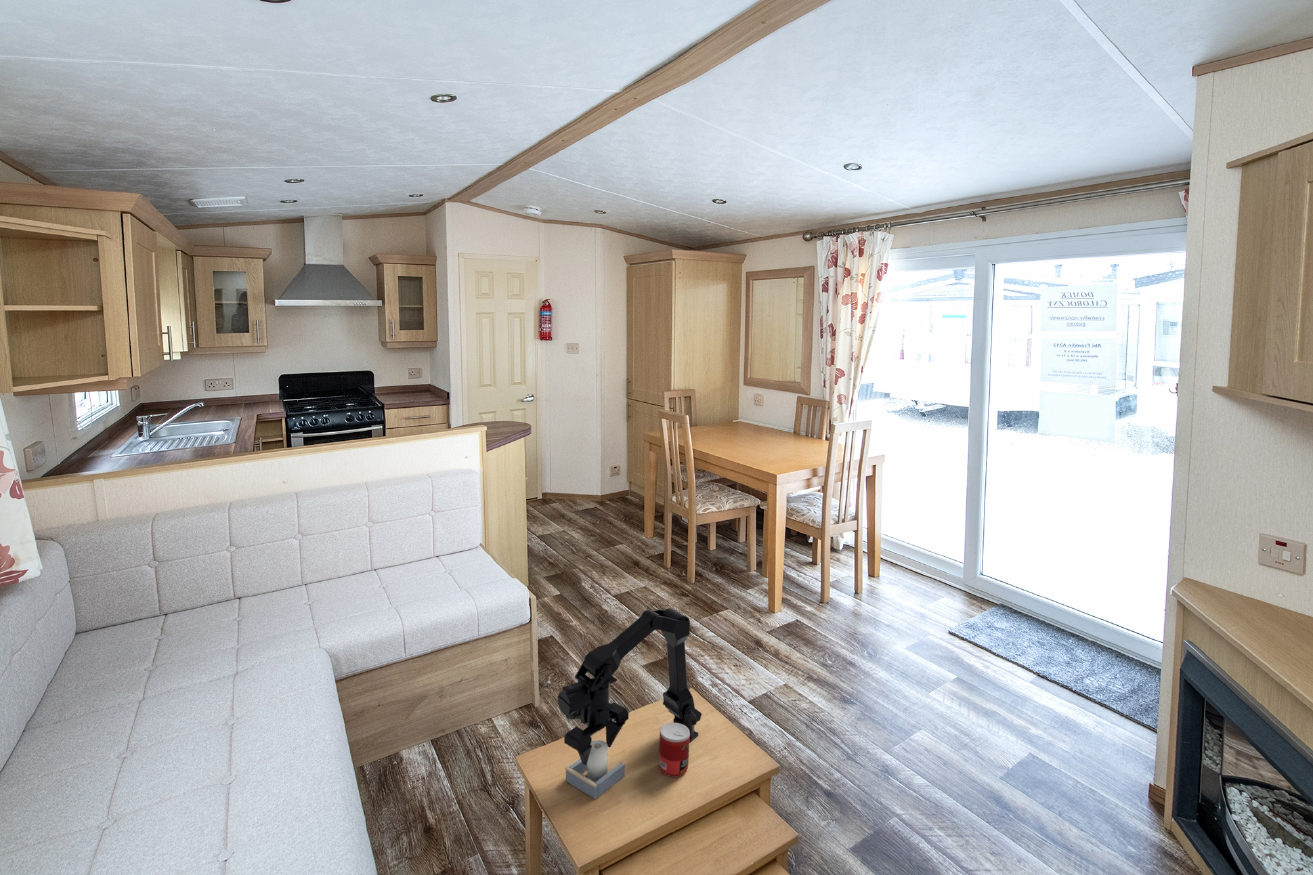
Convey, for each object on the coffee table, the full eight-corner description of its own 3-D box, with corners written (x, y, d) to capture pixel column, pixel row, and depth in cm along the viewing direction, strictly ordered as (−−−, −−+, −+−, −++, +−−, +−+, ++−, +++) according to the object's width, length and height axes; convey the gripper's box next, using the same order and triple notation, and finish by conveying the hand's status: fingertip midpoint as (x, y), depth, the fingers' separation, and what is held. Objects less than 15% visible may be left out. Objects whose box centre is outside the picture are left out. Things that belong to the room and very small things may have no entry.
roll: (596, 767, 181) (597, 736, 179) (611, 776, 177) (611, 745, 176) (582, 777, 177) (583, 746, 175) (597, 786, 173) (598, 754, 172)
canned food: (685, 779, 177) (687, 742, 175) (655, 774, 179) (657, 737, 177) (690, 761, 185) (691, 724, 182) (661, 756, 186) (662, 720, 184)
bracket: (595, 759, 184) (595, 745, 183) (624, 776, 178) (624, 762, 177) (564, 781, 175) (565, 767, 174) (594, 799, 169) (594, 785, 168)
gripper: (599, 674, 185) (598, 726, 188) (549, 704, 170) (548, 759, 173) (630, 689, 178) (629, 742, 181) (581, 721, 164) (580, 779, 166)
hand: (596, 755), depth 176 cm, fingers open, 9 cm apart
